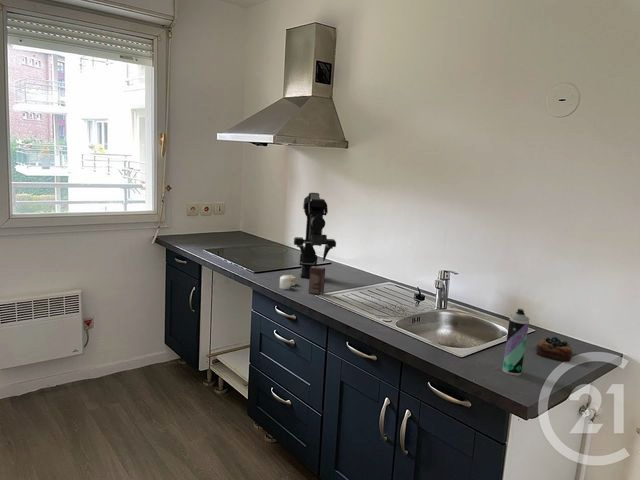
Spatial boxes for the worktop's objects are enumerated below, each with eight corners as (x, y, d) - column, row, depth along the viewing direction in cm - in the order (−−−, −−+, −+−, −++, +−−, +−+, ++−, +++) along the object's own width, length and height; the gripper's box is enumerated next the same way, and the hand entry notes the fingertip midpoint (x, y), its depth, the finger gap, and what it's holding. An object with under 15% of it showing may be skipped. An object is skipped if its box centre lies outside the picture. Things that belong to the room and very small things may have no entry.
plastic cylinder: (279, 286, 227) (279, 276, 226) (289, 286, 228) (290, 276, 227) (279, 289, 222) (280, 278, 221) (290, 289, 223) (291, 279, 222)
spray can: (500, 367, 151) (508, 305, 148) (518, 368, 151) (527, 307, 148) (505, 374, 146) (514, 311, 143) (523, 376, 146) (533, 313, 142)
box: (323, 293, 221) (325, 267, 219) (320, 295, 216) (321, 269, 214) (312, 290, 223) (313, 265, 221) (307, 293, 219) (309, 267, 217)
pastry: (535, 356, 163) (538, 340, 162) (535, 345, 174) (538, 329, 173) (572, 364, 158) (575, 347, 157) (569, 352, 169) (572, 336, 168)
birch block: (281, 283, 233) (282, 275, 233) (291, 282, 235) (292, 275, 234) (284, 286, 229) (285, 277, 228) (294, 285, 231) (295, 277, 230)
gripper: (296, 228, 207) (294, 263, 210) (339, 230, 209) (336, 265, 212) (294, 224, 218) (292, 258, 221) (335, 226, 220) (332, 260, 223)
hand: (313, 260), depth 219 cm, fingers open, 9 cm apart
